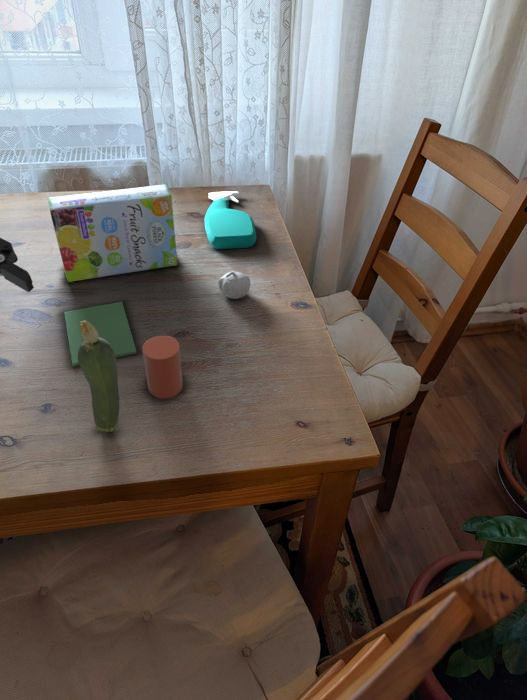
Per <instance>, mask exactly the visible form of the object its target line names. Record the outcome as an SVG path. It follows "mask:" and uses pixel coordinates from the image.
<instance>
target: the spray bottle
mask: <svg viewBox="0 0 527 700" xmlns="http://www.w3.org/2000/svg"><path fill="white" fill-rule="evenodd" d="M239 195H240V193H239V191H234V190H233V191H232V190H231V191H230V190H229V191H213V192H208V199H209V200H212V203H211V204H210V205H209V207H208V209H207V211H206V214H205V215H204V229H205V233H206V236H207V239H208V241H209V243H210V246H211V247H213V248H214V249H215V250H227V249H228V250H229V249H230V250H231V249H248V248H251V247H253V246H254V245H255V243H256V241H257V230H256V226H255V222H254V220H253V217H252V216H251V215H250V214H248V213H247V212H245V211H243V210H239V209H234V208H230V206H229V205H230V201H233V202H235V203H238V204H239V202H240V201H239V200H238V199H237V198H236V197H239Z"/></svg>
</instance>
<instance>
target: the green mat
mask: <svg viewBox="0 0 527 700" xmlns="http://www.w3.org/2000/svg"><path fill="white" fill-rule="evenodd" d="M63 313H64V320H65V325H66V326H65V327H66V333H67V340H68V346H69V347H68V348H69V353H70V361H71V366H72V367H77V366H80V365H79V362H78V350H79V347H80V345H81V344H82V342H83V341H84V340H83V338H82V335H81V331H80V324H81V323H80V322H81V321H84V320H86V322H89V323H90V324H91V325H92V326H94V327H95V329H96V330H97V332H98V337H100V338H103V339H105V340H106V341H107V342H108V343H109V344H110V345H111V347H112V349H113V351H114V354H115V358H116V359H117V358H122V357H127V356H132V355H136V354H138V353H137V348H136V345H135V341H134V338H133V335H132V331H131V328H130V323H129V320H128V316H127V314H126V313H127V312H126V310H125V307H124V304H123V301H118V302H111V303H106V304H100V305H95V306H89V307H83V308H77V309H73V310H67V311H64V312H63Z"/></svg>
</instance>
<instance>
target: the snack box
mask: <svg viewBox="0 0 527 700" xmlns="http://www.w3.org/2000/svg"><path fill="white" fill-rule="evenodd" d="M47 203H48V207H49V214H50V218H51V221H52V225H53V229H54V234H55V238H56V242H57V246H58V249H59V253H60V259H61V261H62V267H63V270H64V274H65V277H66V280H67V282H68V283H73V282H76V281H84V280H90V279H96V278H97V279H98V278H103V277H109V276H116V275H122V274H129V273H137V272H143V271H148V270H155V269H161V268H169V267H174V266H175V267H176V266H177V265H178V256H177V244H176V243H177V242H176V231H175V220H174V219H175V218H174V208H173V196H172V194H171V192H170V190H169V189H168V187H167V185H166V184H158V185H150V186H139V187H133V188H123V189H114V190H107V191H106V190H105V191H96V192H89V193H79V194H71V195H62V196H52V197H47Z"/></svg>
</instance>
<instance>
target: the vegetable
mask: <svg viewBox="0 0 527 700" xmlns="http://www.w3.org/2000/svg"><path fill="white" fill-rule="evenodd" d="M80 323H81V324H80V331H81V335H82V338H83V340H84V341H83V342H82V344H81V345H80V347H79V350H78V362H79V365H78V366H79V368H80V369H81V372H82V373H83V375H84V377H85V379H86V381H87V382H88V385H89V389H90V395H91V407H92V415H93V420H94V421H93V422H94V424H95V425H96V431H99V432H106V433H109V432H111V433H113V432H114V429H115V426H116V425H117V424H118V423H119V415H120V409H121V408H120V407H121V406H120V404H121V403H120V390H119V377H118V376H119V373H118V371H119V370H118V363H117V358H115V354H114V351H113V349H112V347H111V345H110V344H109V343H108V342H107V341H106V340H105V339H103V338H100V337H98V332H97V330H96V329H95V327H94V326H92V325H91V324H90V323H89V322H86V320H84V321H81V322H80Z"/></svg>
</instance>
